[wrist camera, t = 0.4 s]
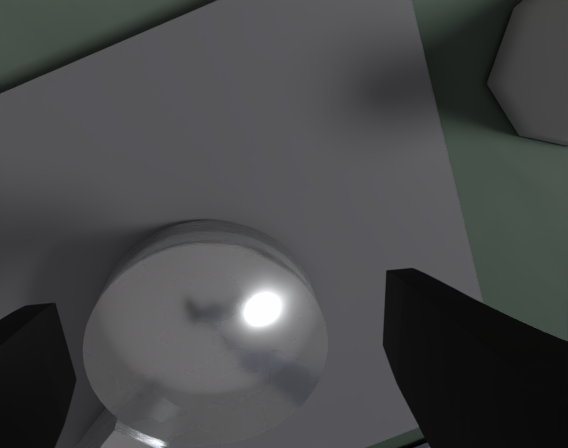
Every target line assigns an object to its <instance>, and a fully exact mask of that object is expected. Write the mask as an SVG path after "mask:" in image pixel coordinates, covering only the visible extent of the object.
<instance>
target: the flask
mask: <svg viewBox="0 0 568 448" xmlns="http://www.w3.org/2000/svg"><path fill="white" fill-rule="evenodd" d="M487 85H488V87H489V88H490V90H491V92H492V93H493V95H494V96H495V98H496V100H497V101H498V103H499V104H500V106H501V108H502V109H503V111H504V112H505V114H506V116H507V117H508V119H509V120H510V122H511V123H512V125H513V127H514V128H515V130H516V131H517V133H518V135H519V136H523V137H528V138H533V139H538V140H542V141H547V142H552V143H556V144H561V145H566V146H568V0H522V1H521V2H520V3H519V4H518V5H516V6H515V7H514V9H513V12H512V15H511V17H510V20H509V23H508V26H507V28H506V31H505V34H504V37H503V40H502V42H501V45H500V48H499V51H498V54H497V56H496V59H495V62H494V65H493V67H492V70H491V73H490V76H489V79H488V81H487Z"/></svg>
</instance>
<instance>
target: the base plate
mask: <svg viewBox="0 0 568 448" xmlns="http://www.w3.org/2000/svg"><path fill="white" fill-rule="evenodd" d="M205 220H210V221H226V222H232V223H238V224H242V225H245V226H249V227H252V228H254V229H257V230H259V231H261V232H264V233H266V234H267V235H269V236H271V237H273V238H274V239H276V240H277V241H279V242H280V243H281V244H283V245H284V246H285V247H286V248H288V249H289V250H290V251H291V252H292V253H293V255H294V256H295V257H296V258H297V259H298V260H299V262H300V263H301V264H302V266H303V267H304V269H305V271H306V273H307V275H308V277H309V279H310V281H311V284H312V287H313V290H314V293H315V295H316V298H317V301H318V304H319V307H320V310H321V312H322V315H323V318H324V321H325V324H326V330H327V336H328V351H327V358H326V363H325V367H324V370H323V373H322V375H321V378H320V380H319V382H318V384H317V386H316V387H315V389H314V390H313V392H312V394H311V395H310V396H309V398H308V399H307V400H306V401H305V402H304V404H303V405H302V406H301V407H300V408H299V409H298V410H297V411H295V412H294V413H293V414H292V415H291V416H290V417H288V418H287V419H286V420H284V421H283V422H281V423H280V424H278V425H277V426H275V427H273V428H271V429H270V430H268V431H265V432H263V433H261V434H259V435H257V436H254V437H251V438H248V439H245V440H242V441H237V442H233V443H229V444H221V445H212V446H192V445H182V444H175V443H170V447H169V448H366V447H369V446H371V445H374V444H377V443H379V442H382V441H384V440H387V439H389V438H392V437H395V436H397V435H400V434H402V433H405V432H408V431H410V430H413V429H415V428H418V427H419V426H418V424H417V422H416V420H415V418H414V416H413V414H412V412H411V410H410V408H409V407H408V405H407V403H406V401H405V399H404V397H403V395H402V393H401V391H400V389H399V387H398V385H397V383H396V380H395V378H394V375H393V373H392V370H391V367H390V365H389V362H388V359H387V356H386V353H385V350H384V348H383V326H384V306H385V286H386V270H394V269H404V268H414V269H417V270H419V271H421V272H424V273H426V274H428V275H430V276H432V277H434V278H436V279H438V280H440V281H441V282H443V283H445V284H447V285H449V286H451V287H453V288H455V289H457V290H458V291H460V292H462V293H464V294H466V295H468V296H470V297H472V298H474V299H476V300H478V301H480V302H482V303H483V300H482V296H481V291H480V287H479V283H478V279H477V275H476V270H475V266H474V262H473V258H472V253H471V249H470V245H469V241H468V236H467V232H466V228H465V224H464V220H463V215H462V211H461V207H460V203H459V198H458V194H457V190H456V186H455V181H454V177H453V173H452V169H451V165H450V160H449V156H448V152H447V148H446V143H445V139H444V135H443V131H442V126H441V122H440V118H439V114H438V110H437V105H436V101H435V97H434V93H433V88H432V84H431V80H430V76H429V72H428V67H427V63H426V59H425V55H424V50H423V46H422V42H421V38H420V33H419V29H418V25H417V21H416V17H415V12H414V8H413V4H412V0H217V1H215V2H212V3H210V4H208V5H205V6H203V7H201V8H198V9H196V10H194V11H191V12H189V13H187V14H184V15H182V16H180V17H177V18H175V19H173V20H170V21H168V22H166V23H163V24H161V25H159V26H156V27H154V28H152V29H150V30H147V31H145V32H143V33H140V34H138V35H136V36H133V37H131V38H129V39H126V40H124V41H122V42H119V43H117V44H115V45H112V46H110V47H108V48H105V49H103V50H101V51H98V52H96V53H94V54H91V55H89V56H87V57H84V58H82V59H80V60H77V61H75V62H73V63H70V64H68V65H66V66H63V67H61V68H59V69H56V70H54V71H52V72H50V73H47V74H45V75H43V76H40V77H38V78H36V79H33V80H31V81H29V82H26V83H24V84H22V85H19V86H17V87H15V88H12V89H10V90H8V91H5V92H3V93H1V94H0V319H2V318H3V317H5V316H7V315H8V314H10V313H12V312H14V311H15V310H17V309H19V308H21V307H23V306H25V305H35V304H45V303H56V307H57V310H58V314H59V317H60V321H61V325H62V328H63V332H64V335H65V339H66V343H67V346H68V350H69V353H70V357H71V361H72V364H73V368H74V371H75V375H76V379H77V380H76V384H75V388H74V392H73V396H72V400H71V404H70V407H69V411H68V414H67V418H66V421H65V424H64V427H63V429H62V432H61V434H60V437H59V439H58V441H57V444H56V446H55V448H74V447H75V446H76V445H77V443H78V442H79V441H80V440H81V438H82V437H83V436H84V435H85V433H86V432H87V431H88V430H89V429H90V427H91V426H92V425H93V424H94V422H95V421H96V420H97V419H98V417H99V416H100V415H101V414H102V412H103V411H104V410H105V409H106V407H105V406H104V404H103V403H102V402H101V401H100V400H99V398H98V397H97V395H96V393H95V392H94V390H93V389H92V386H91V384H90V382H89V380H88V378H87V374H86V370H85V367H84V360H83V339H84V334H85V330H86V326H87V323H88V321H89V318H90V316H91V313H92V311H93V309H94V307H95V305H96V303H97V301H98V299H99V297H100V295H101V292H102V290H103V288H104V286H105V284H106V282H107V280H108V278H109V276H110V274H111V273H112V271H113V269H114V268H115V266H116V265H117V263H118V262H119V261H120V260H121V259H122V258H123V256H124V255H125V254H126V253H127V252H128V251H129V250H131V249H132V248H133V247H134V246H135V245H136V244H138V243H139V242H141V241H142V240H144V239H145V238H147V237H148V236H150V235H152V234H154V233H156V232H158V231H161V230H163V229H166V228H169V227H172V226H175V225H178V224H183V223H188V222H194V221H205Z"/></svg>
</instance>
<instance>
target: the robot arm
mask: <svg viewBox="0 0 568 448" xmlns="http://www.w3.org/2000/svg"><path fill="white" fill-rule="evenodd" d="M383 348H384V350H385V353H386V356H387V359H388V362H389V365H390V367H391V370H392V373H393V375H394V378H395V380H396V383H397V385H398V387H399V389H400V391H401V393H402V395H403V397H404V399H405V401H406V403H407V405H408V407H409V408H410V410H411V412H412V414H413V416H414V418H415V420H416V422H417V424H418V426H419V427H420V429H421V431H422V433H423V435H424V437H425V439H426V441H427V443H424V444H422V445H419V446H417V447H414V448H568V341H565V340H562V339H560V338H557V337H555V336H553V335H550V334H548V333H545V332H543V331H541V330H538V329H536V328H534V327H532V326H530V325H527V324H525V323H523V322H521V321H519V320H516V319H514V318H512V317H510V316H508V315H506V314H504V313H502V312H500V311H498V310H495V309H493V308H491V307H489V306H487V305H485V304H483V303H482V302H480V301H478V300H476V299H474V298H472V297H470V296H468V295H466V294H464V293H462V292H460V291H458V290H457V289H455V288H453V287H451V286H449V285H447V284H445V283H443V282H441V281H440V280H438V279H436V278H434V277H432V276H430V275H428V274H426V273H424V272H421V271H419V270H417V269H414V268H404V269H394V270H386V286H385V306H384V326H383ZM76 380H77V379H76V375H75V371H74V368H73V364H72V361H71V357H70V353H69V350H68V346H67V343H66V339H65V335H64V332H63V328H62V325H61V321H60V317H59V314H58V310H57V307H56V303H45V304H35V305H25V306H23V307H21V308H19V309H17V310H15V311H14V312H12V313H10V314H8V315H7V316H5V317H3V318H2V319H0V448H55V446H56V444H57V441H58V439H59V437H60V434H61V432H62V429H63V427H64V424H65V421H66V418H67V414H68V411H69V407H70V404H71V400H72V396H73V392H74V388H75V384H76Z"/></svg>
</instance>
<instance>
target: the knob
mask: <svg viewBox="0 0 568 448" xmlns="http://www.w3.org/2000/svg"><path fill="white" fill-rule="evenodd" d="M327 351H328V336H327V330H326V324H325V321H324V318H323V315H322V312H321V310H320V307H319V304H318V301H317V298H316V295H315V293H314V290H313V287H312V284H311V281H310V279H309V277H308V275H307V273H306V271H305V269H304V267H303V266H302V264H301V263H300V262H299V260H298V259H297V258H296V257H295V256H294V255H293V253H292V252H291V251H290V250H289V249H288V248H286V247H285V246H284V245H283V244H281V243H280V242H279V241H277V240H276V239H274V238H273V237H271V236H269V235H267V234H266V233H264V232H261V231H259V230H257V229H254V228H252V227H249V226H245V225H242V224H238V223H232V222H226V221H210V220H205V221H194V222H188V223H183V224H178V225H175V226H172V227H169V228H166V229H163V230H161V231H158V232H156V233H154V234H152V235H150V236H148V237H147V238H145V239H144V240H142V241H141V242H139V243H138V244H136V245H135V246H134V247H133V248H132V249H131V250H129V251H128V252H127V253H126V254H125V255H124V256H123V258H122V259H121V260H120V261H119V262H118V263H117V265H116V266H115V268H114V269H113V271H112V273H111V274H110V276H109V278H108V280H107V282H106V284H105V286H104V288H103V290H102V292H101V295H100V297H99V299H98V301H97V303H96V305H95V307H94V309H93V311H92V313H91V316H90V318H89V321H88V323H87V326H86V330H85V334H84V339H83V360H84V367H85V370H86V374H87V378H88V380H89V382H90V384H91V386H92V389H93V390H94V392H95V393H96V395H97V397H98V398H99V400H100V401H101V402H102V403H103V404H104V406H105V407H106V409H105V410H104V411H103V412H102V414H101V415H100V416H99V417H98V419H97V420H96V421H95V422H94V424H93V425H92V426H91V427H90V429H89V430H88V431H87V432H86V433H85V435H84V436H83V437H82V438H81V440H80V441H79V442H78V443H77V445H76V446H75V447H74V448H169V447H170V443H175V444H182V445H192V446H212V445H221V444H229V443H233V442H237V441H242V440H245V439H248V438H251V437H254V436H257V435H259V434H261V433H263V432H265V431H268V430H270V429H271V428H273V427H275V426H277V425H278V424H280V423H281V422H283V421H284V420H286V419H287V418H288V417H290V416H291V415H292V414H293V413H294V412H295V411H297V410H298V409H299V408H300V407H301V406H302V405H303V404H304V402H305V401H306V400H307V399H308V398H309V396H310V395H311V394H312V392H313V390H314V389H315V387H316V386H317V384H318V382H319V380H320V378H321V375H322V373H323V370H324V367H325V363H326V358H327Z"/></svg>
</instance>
